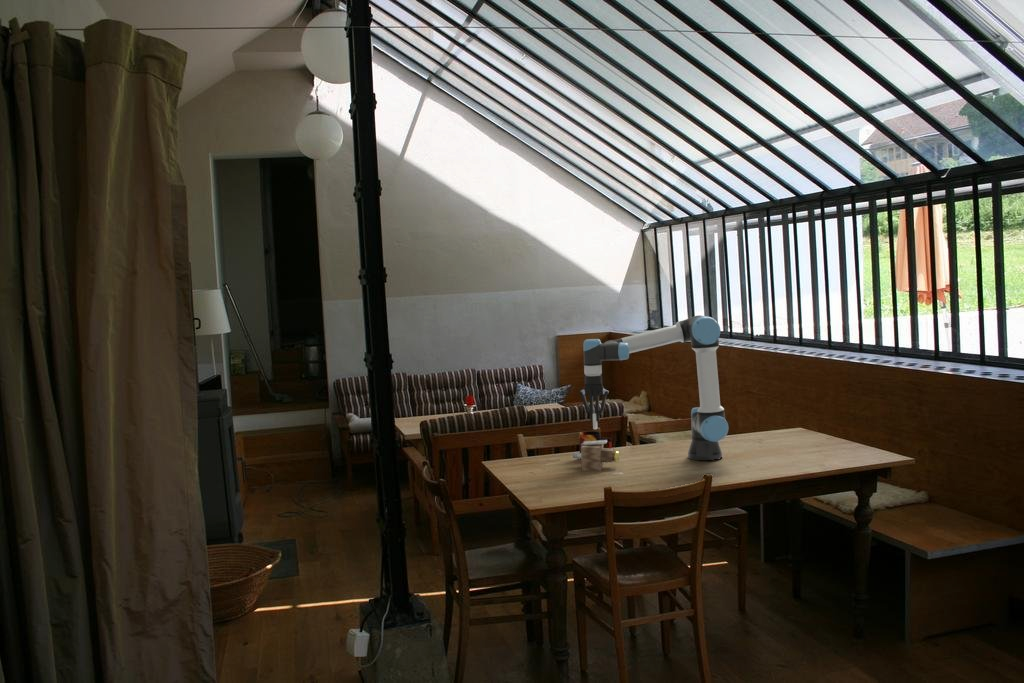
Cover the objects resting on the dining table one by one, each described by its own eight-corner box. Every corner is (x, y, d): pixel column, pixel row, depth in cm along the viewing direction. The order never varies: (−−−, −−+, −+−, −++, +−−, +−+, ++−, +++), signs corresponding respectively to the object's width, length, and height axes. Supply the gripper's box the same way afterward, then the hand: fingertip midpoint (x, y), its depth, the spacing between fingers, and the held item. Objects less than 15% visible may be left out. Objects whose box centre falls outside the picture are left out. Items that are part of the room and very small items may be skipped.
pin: (619, 460, 366) (619, 450, 365) (618, 463, 361) (617, 452, 361) (574, 459, 371) (573, 449, 370) (572, 461, 366) (571, 451, 366)
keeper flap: (607, 441, 366) (607, 439, 366) (605, 443, 362) (605, 441, 362) (584, 443, 369) (584, 441, 369) (583, 445, 364) (582, 443, 364)
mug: (612, 460, 381) (611, 433, 380) (582, 461, 378) (582, 435, 377) (606, 455, 390) (605, 430, 389) (577, 457, 388) (576, 431, 387)
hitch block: (615, 464, 370) (614, 440, 369) (611, 470, 358) (611, 445, 358) (585, 464, 373) (584, 439, 372) (580, 470, 362) (579, 444, 361)
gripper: (609, 373, 365) (611, 427, 367) (579, 374, 369) (582, 427, 370) (606, 375, 358) (609, 430, 360) (576, 376, 361) (579, 430, 363)
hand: (595, 428), depth 365 cm, fingers closed
